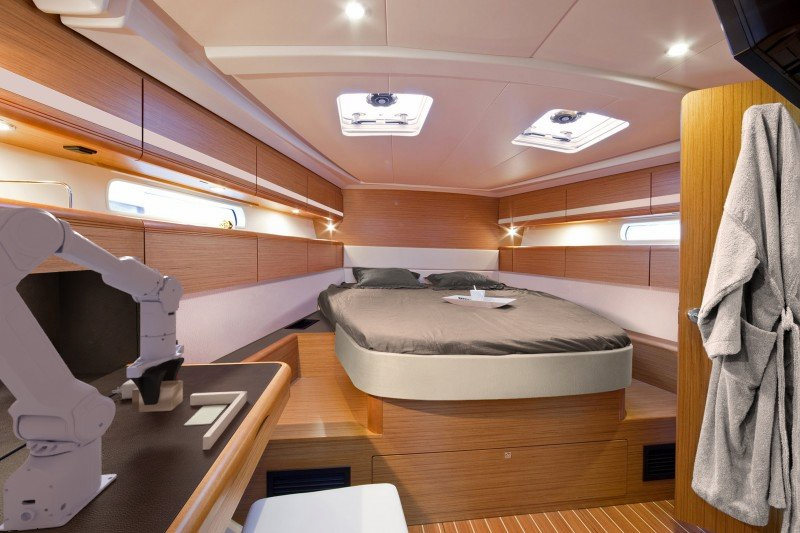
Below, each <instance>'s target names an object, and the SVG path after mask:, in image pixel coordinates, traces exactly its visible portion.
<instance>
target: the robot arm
mask: <svg viewBox="0 0 800 533" xmlns="http://www.w3.org/2000/svg"><path fill="white" fill-rule="evenodd" d="M52 255H53V256H55V257H58V258H60V259H63V260H65V261H69V262H71V263H73V264H76V265H78V266H81V267H83V268H86V269H89V270H91V271H94V272H96V273H99V274H101V278H102V281H103V283H105V284H106V285H108V286H111V287H112V288H115V289H118V291H122V292H125V293H127V294H128V295H131V297H132V299H133V301H134V302H136V303H139V304H140V305H139V306H140V310H139V311H140V312H139V314H140V317H139V318H140V320H139V322H140V332H139V333H140V334H139V335H140V338H139V339H140V340H139V341H140V344H139V345H140V346H139V347H140V352H139V353H140V354H139V355H140V356H139V357H138V358H137V359H136V360H135V361H134V362H133V363H132V364H131V365H129V366H128V367H126V378H127V379H129V380H132V381H133V382H134V383H135V384H136V386H137V387H138V389H139V391H140V394H141V396H142V399H143V402H144V405H155V404H157V403H158V400H159V396H160V387H161V383H162V381H175V380H176V377H177V374H178V375H179V372H180V370H181V367H182V365H183V364H184V362H185V357H183V354H185V344H178V345H176V340H177V311H178V310H179V308H180V301H181V299H182V298H183V295H184V290H185V288H184V287H183V286H182V283H181V282H180V280H179V279H177V278H176V277H175V276H170V275H164V274H162V273H160V270H158V269H156V268H151V267H149V266H147V265H146V264H144V263H142V259H141V258H139V257H138V256H127V255H126V256H125V255H124V256H119V257H117V256H115V255H114V254H112V253H111V252H109V251H107V250H106V249H104V248H103V247H101V246H100V245H99V244H97V243H95V242H93V241H91V240H90V239H88V238H87V237H85V236H83V235H81V234H80V233H78V232H77V231H75V230H74V229H73V228H72V227H71V224H70V222H68V221H66V220H62V219H60V218H58V217H57V218H56V216H55V215H53V214H52V213H50V212H48V211H46V210H44V209H41V208H36V207H32V206H31V207H29V206H28V207H26V206H25V207H18V208H16V207H15V208H10V207H9V208H4V207H3V208H0V381H1V382H2V383H3V384H4V386H5V387H6V388H7V389H8V391H10V393H11V394H12V395H13V396H14V398H15V399H16V400H15V401H14V402H13V403H12V404H11V405H10V407H9V408H7V412H8V414H9V415H10V417H11V418H12V420H13V425H12V431H13V434H14V436H15V437H16V438H17V439H18V440H21V441H25V442H26V450H29V454H28V457H27V458H26V459H25V461H24V462H23V464H22V465H21V466H19V467H18V468H17V469H16V470H15V471H13V472H12V473H11V474H10V475H9V476H8V477H7V479H6V480H5V481H4V484H3V488H2V498H3V499H2V504H3V506H2V507H3V515H2V516H3V517H2V518H3V523H2V524H1V525H0V530H18V531H28V530H37V528H38V529H46V528H47V529H48V528H59V527H61V526H64V525H66V524H67V523H68V522H70V520H71V519H73V518H74V517H75V515H77V514H78V513H79V512H80V511H82V510H83V508H84V507H86V506H87V505H88V504H89V503H90V502H91V501H92V500H94V499H95V498H96V497H97V496H98V495H99V494H100V493H101V492H102V491H103V490H105V489H106V488H107V487H108V486H109V485H110V484H111V483H112V482H113V481H115V479H116V478H117V476H118V475H117V473H112V474H110V473H108V474H102V436H103V435H105V434H106V431H107V430H108V429H109V427H110V426H111V425H112V422H113V421H114V418H115V416H116V415H115V414H116V409H117V408H116V404H115V402H114V400H113V399H112V398H111V397H110V396H109V397H108V396H104V395H102V394H101V393H100V392H99V391H98V389H97V388H96V387H95V386H93V385H91V384H88V383H86V382H84V381H81V380H79V379H77V378H75V376H74V375H73V373H72V372H71V370H70V369H69V367H68V365H67V364H66V363H65V361H64V359H63V358H62V357H61V355H60V353H58V351H57V349H56V348H55V346H54V345H53V343H52V341H51V340H50V338H49V337H48V336H47V334H46V333H45V331H44V329H43V328H42V326H41V325H40V324H39V322H38V320H37V319H36V317H35V316H34V315H33V313H32V311H31V310H30V308H29V307H28V305H27V304H26V302H25V301H24V300H23V298H22V297H21V295H20V293H19V292H18V291H17V287H18V285H19V283H20V282H21V280H23V279H24V278H25V277H27V276H28V275H29V274H30V273H32V272H33V271H34V270H35V269H36V268H37V267H39V266H40V265H41V264H43V262H45V261H46V260H47V259H49V258H50V257H51V256H52Z"/></svg>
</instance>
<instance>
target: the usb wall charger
mask: <svg viewBox="0 0 800 533" xmlns="http://www.w3.org/2000/svg"><path fill="white" fill-rule="evenodd" d="M135 388H137V386H136V384H135V383H134V382H133V381H132V380H131V379H129V380H127V381H125V382H124V383H122V385H121V386H117V387H116V389H114V390H111V393H112V394H121V399H122V400H128V399H132V390H133V389H135Z"/></svg>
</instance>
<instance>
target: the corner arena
mask: <svg viewBox="0 0 800 533" xmlns="http://www.w3.org/2000/svg"><path fill="white" fill-rule="evenodd" d="M189 400H190V402H189V404H190V406H202V407H200V408H199V410H198V411H196V413H194V414H193V415H192V416H191V417H190V418H189V420H187V422H185V423H184V424H183V426H184V427H186V426H187V427H188V426H201V425H204V426H205V425H212V423H213V422H214V421H215V420H216V419H217V418H218V417H219V418H218V419H217V420H216V421H215V423H213V425H212V426H211V427H210V428H209V429H208V431H206V433H205V434H204V435H203V437H202V450H204V451H205V450H211V448H212V447H213V445H214V444H215V443H216V442H217V440H218V439H219V438H220V437H221V435H222V434H223V433H224V431H225V430H226V429H227V428H228V426H229V425H230V423H231V422H232V421H233V419H234V418H235V417H236V416H237V414H238V413H239V411H241V409H242V408H243V407H244V406H245V404H246V403H247V401H248V390H247V391H246V390H243V391H241V390H240V391H238V390H237V391H220V392H219V391H217V392H195V393H192V394H190V399H189ZM228 404H230V405H229V406H228ZM226 408H227V409H226ZM224 410H225V411H224ZM223 411H224V412H223ZM222 412H223V413H222ZM221 413H222V414H221Z"/></svg>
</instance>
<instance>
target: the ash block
mask: <svg viewBox="0 0 800 533" xmlns="http://www.w3.org/2000/svg"><path fill="white" fill-rule="evenodd" d="M183 383H184V381H183V380H178V381H162V383H161V387H160V396H159V400H158V403H157V404H155V405H144V402H143V399H142V396H141V394H140V391H139V389H138V387H137V388H135V389H133V390H132V398H131V399H132V400H131V404H132V408H131V410H132V411H131V413H144V412H145V413H147V412H166V411H167V412H168V411H173V410H174V409H175V408H177V406H179V405H180V404H181V403H182V402H183V401H184V399H183V397H184V394H183V393H184V392H183V391H184V390H183V388H184V384H183Z"/></svg>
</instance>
